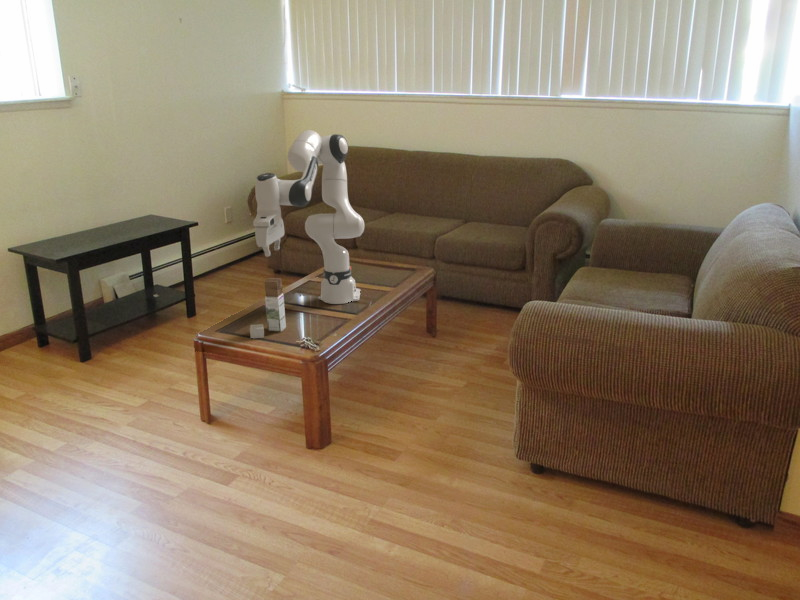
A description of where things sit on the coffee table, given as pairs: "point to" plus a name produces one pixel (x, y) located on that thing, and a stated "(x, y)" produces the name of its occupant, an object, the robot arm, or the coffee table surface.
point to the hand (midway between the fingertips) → (272, 253)
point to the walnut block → (273, 287)
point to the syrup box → (275, 313)
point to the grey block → (257, 331)
